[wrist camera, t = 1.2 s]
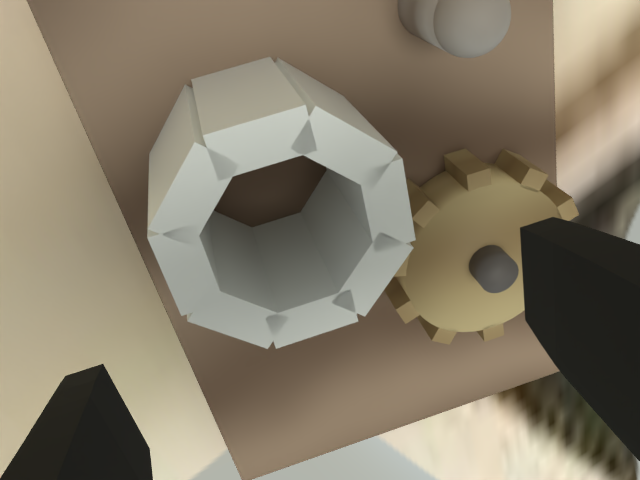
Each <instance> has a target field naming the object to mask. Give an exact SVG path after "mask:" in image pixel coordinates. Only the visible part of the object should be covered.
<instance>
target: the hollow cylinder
mask: <svg viewBox="0 0 640 480" xmlns="http://www.w3.org/2000/svg"><path fill="white" fill-rule="evenodd" d="M191 81H192V86H193V88H191V87H189V86H187V85H184V87H183V89H182V91H181V93H180V95H179V97H178V99H177V101H176V103H175V105H174V107H173V109H172V111H171V113H170V115H169V117H168V118H167V120H166V122H165V124H164V126H163V128H162V130H161V132H160V134H159V136H158V138H157V140H156V142H155V144H154V146H153V148H152V150H151V151H150V153H149V184H148V230H147V238H148V241H149V243H150V245H151V248H152V250H153V252H154V254H155V257H156V259H157V261H158V264H159V266H160V268H161V271H162V273H163V275H164V277H165V280H166V282H167V284H168V287H169V289H170V291H171V294H172V296H173V298H174V300H175V303H176V305H177V307H178V310H179V312H180V314H181V316H183V315H186V314H187V321H188V322H191V323H194V324H197V325H199V326H202V327H205V328H208V329H211V330H214V331H217V332H220V333H223V334H226V335H228V336H231V337H234V338H237V339H240V340H243V341H246V342H249V343H252V344H255V345H258V346H260V347H263V348H266V349H268V348H269V346H270V345H271V343H272V342H274V345H275V347H276V349H277V348H280V347H283V346H286V345H289V344H292V343H295V342H298V341H301V340H304V339H307V338H310V337H313V336H316V335H319V334H322V333H325V332H328V331H331V330H334V329H337V328H340V327H343V326H346V325H349V324H352V323H355V322H358V318H357V314H360V315H362V316H366V315H367V313H368V312H369V310H370V309H371V307H372V306H373V305H374V303H375V302H376V300H377V299H378V298H379V296H380V295H381V293H382V292H383V291H384V289H385V288H386V286H387V285H388V283H389V282H390V281H391V279H392V278H393V276H394V275H395V274H396V272H397V271H398V269H399V268H400V266H401V265H402V264H403V262H404V261H405V259H406V258H407V257H408V255H409V254H410V252H411V251H412V250H413V246H412V245H411V244H410V242H412V241H415V240H416V239H415V232H414V226H413V220H412V214H411V208H410V202H409V196H408V190H407V184H406V178H405V172H404V165H403V159H402V158H401V157H400V156H399V155H398V154H397V151H396V150H395V149H394V148H393V147H392V146H391V145H390V143H389V142H388V141H387V140H386V139H385V138H384V137H383V136H382V135H381V134H380V133H379V132H378V131H377V130H376V129H375V128H374V127H373V126H372V125H371V124H370V123H369V122H368V121H367V120H366V119H365V118H364V117H363V116H362V115H361V114H360V113H359V112H358V111H357V110H356V108H355V107H354V106H353V105H352V104H351V103H350V102H349V101H348V100H347V99H346V98H345V97H344V96H343V95H341V94H339V93H337V92H336V91H334V90H332V89H331V88H329V87H327V86H325V85H324V84H322V83H320V82H319V81H317V80H315V79H313V78H312V77H310V76H308V75H307V74H305V73H303V72H302V71H300V70H298V69H296V68H295V67H293V66H291V65H290V64H288V63H286V62H284V61H283V60H281V59H279V58H277V60H276V62H275V63H274V61H273V60H272V59H271V57H267V58H263V59H260V60H257V61H253V62H250V63H246V64H243V65H239V66H236V67H232V68H229V69H225V70H222V71H218V72H215V73H212V74H208V75H205V76H201V77H198V78H194V79H191ZM301 155H304V156H306V157H308V158H310V159H311V160H313V161H315V162H317V163H319V164H321V165H323V166H325V167H326V172H325V174H324V175H323V177H322V178H321V180H320V182H319V183H318V185H317V186H316V188H315V190H314V191H313V193H312V194H311V196H310V198H309V199H308V201H307V202H306V204H305V206H304V207H303V209H302V210H301V212H300V213H297V214H293V215H290V216H287V217H284V218H281V219H277V220H274V221H271V222H268V223H265V224H262V225H258V226H255V227H250V226H248V225H245V224H243V223H241V222H238V221H236V220H234V219H231V218H229V217H227V216H225V215H222V214H220V213H218V212H215V211H213V210H214V209H215V207H216V205H217V203H218V202H219V200H220V198H221V196H222V195H223V193H224V191H225V189H226V188H227V186H228V184H229V182H230V181H231V179H232V177H233V176H236V175H239V174H242V173H246V172H249V171H252V170H256V169H259V168H262V167H265V166H269V165H272V164H275V163H278V162H282V161H285V160H288V159H292V158H295V157H298V156H301ZM356 313H357V314H356Z"/></svg>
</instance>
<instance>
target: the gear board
mask: <svg viewBox="0 0 640 480" xmlns="http://www.w3.org/2000/svg"><path fill="white" fill-rule="evenodd" d="M27 2H28V4H29V6H30V9H31V11H32V13H33V15H34V18H35V20H36V22H37V24H38V26H39V29H40V31H41V33H42V35H43V38H44V40H45V42H46V44H47V46H48V49H49V51H50V53H51V55H52V58H53V60H54V62H55V64H56V67H57V69H58V71H59V73H60V75H61V78H62V80H63V82H64V84H65V87H66V89H67V91H68V93H69V96H70V98H71V100H72V102H73V104H74V107H75V109H76V111H77V113H78V116H79V118H80V120H81V122H82V124H83V127H84V129H85V131H86V133H87V136H88V138H89V140H90V142H91V145H92V147H93V149H94V151H95V153H96V156H97V158H98V160H99V162H100V165H101V167H102V169H103V171H104V173H105V176H106V178H107V180H108V182H109V185H110V187H111V189H112V191H113V194H114V196H115V198H116V200H117V202H118V205H119V207H120V209H121V211H122V214H123V216H124V218H125V220H126V222H127V225H128V227H129V229H130V231H131V234H132V236H133V238H134V240H135V243H136V245H137V247H138V249H139V251H140V254H141V256H142V258H143V260H144V263H145V265H146V267H147V269H148V271H149V274H150V276H151V278H152V280H153V283H154V285H155V287H156V289H157V292H158V294H159V296H160V298H161V300H162V303H163V305H164V307H165V309H166V312H167V314H168V316H169V318H170V321H171V323H172V325H173V327H174V329H175V332H176V334H177V336H178V338H179V341H180V343H181V345H182V347H183V349H184V352H185V354H186V356H187V358H188V361H189V363H190V365H191V367H192V370H193V372H194V374H195V376H196V378H197V381H198V383H199V385H200V387H201V390H202V392H203V394H204V396H205V398H206V401H207V403H208V405H209V407H210V410H211V412H212V414H213V416H214V419H215V421H216V423H217V425H218V427H219V430H220V432H221V434H222V436H223V439H224V441H225V443H226V445H227V447H228V450H229V452H230V454H231V456H232V459H233V461H234V463H235V465H236V468H237V470H238V472H239V474H240V476H241V479H242V480H252V479H254V478H257V477H260V476H263V475H266V474H269V473H271V472H274V471H277V470H280V469H282V468H285V467H289V466H291V465H294V464H297V463H300V462H303V461H305V460H308V459H311V458H314V457H317V456H320V455H323V454H325V453H328V452H331V451H334V450H337V449H339V448H342V447H345V446H348V445H351V444H354V443H357V442H360V441H362V440H365V439H368V438H371V437H374V436H377V435H379V434H382V433H385V432H388V431H391V430H394V429H396V428H399V427H402V426H405V425H408V424H411V423H414V422H416V421H419V420H422V419H425V418H428V417H431V416H433V415H436V414H439V413H442V412H445V411H448V410H450V409H453V408H456V407H459V406H462V405H465V404H467V403H470V402H473V401H476V400H479V399H482V398H485V397H487V396H490V395H493V394H496V393H499V392H502V391H504V390H507V389H510V388H513V387H516V386H519V385H521V384H524V383H527V382H530V381H533V380H536V379H539V378H541V377H544V376H547V375H550V374H553V373H556V372H558V371H560V370H559V369H558V368H557V367H556V366H555V364H554V363H553V361H552V360H551V358H550V357H549V355H548V354H547V353H546V351H545V350H544V348H543V347H542V345H541V344H540V342H539V341H538V339H537V338H536V336H535V334H534V333H533V331H532V330H531V328H530V327H529V325H528V324H527V322H526V321H525V308H524V290H523V273H522V256H521V239H520V227H523V226H526V225H529V224H532V223H535V222H538V221H541V220H545V219H548V218H551V217H556V218H560V219H563V220H567V221H570V220H571V219H573V218H574V217H576V216H578V215H579V214H578V211H577V209H576V206H575V203H574V201H573V198H572V197H571V196H569V195H568V194H566V193H565V192H563V191H562V190H561V189H559V188H558V187H557V180H556V131H555V82H554V34H553V0H27ZM267 57H271V59H272V60H273V61H274V63H275V62H276V60H277V58H279V59H281V60H283V61H284V62H286V63H288V64H290V65H291V66H293V67H295V68H296V69H298V70H300V71H302V72H303V73H305V74H307V75H308V76H310V77H312V78H313V79H315V80H317V81H319V82H320V83H322V84H324V85H325V86H327V87H329V88H331V89H332V90H334V91H336V92H337V93H339V94H341V95H343V96H344V97H345V98H346V99H347V100H348V101H349V102H350V103H351V104H352V105H353V106H354V107H355V108H356V110H357V111H358V112H359V113H360V114H361V115H362V116H363V117H364V118H365V119H366V120H367V121H368V122H369V123H370V124H371V125H372V126H373V127H374V128H375V129H376V130H377V131H378V132H379V133H380V134H381V135H382V136H383V137H384V138H385V139H386V140H387V141H388V142H389V143H390V145H391V146H392V147H393V148H394V149H395V150H396V151H397V154H398V155H399V156H400V157H401V158H402V159H403V165H404V172H405V178H406V184H407V190H408V196H409V202H410V208H411V214H412V220H413V226H414V232H415V239H416V240H415V241H412V242H410V244H411V245H412V246H413V250H412V251H411V252H410V254H409V255H408V257H407V258H406V259H405V261H404V262H403V264H402V265H401V266H400V268H399V269H398V271H397V272H396V274H395V275H394V276H393V278H392V279H391V281H390V282H389V283H388V285H387V286H386V288H385V289H384V291H383V292H382V293H381V295H380V296H379V298H378V299H377V300H376V302H375V303H374V305H373V306H372V307H371V309H370V310H369V312H368V313H367V315H366V316H362V315H360V314H357V313H356V314H357V318H358V322H355V323H352V324H349V325H346V326H343V327H340V328H337V329H334V330H331V331H328V332H325V333H322V334H319V335H316V336H313V337H310V338H307V339H304V340H301V341H298V342H295V343H292V344H289V345H286V346H283V347H280V348H277V349H276V347H275V345H274V342H272V343H271V345H270V346H269V348H268V349H266V348H263V347H260V346H258V345H255V344H252V343H249V342H246V341H243V340H240V339H237V338H234V337H231V336H228V335H226V334H223V333H220V332H217V331H214V330H211V329H208V328H205V327H202V326H199V325H197V324H194V323H191V322H188V321H187V314H186V315H183V316H181V314H180V312H179V310H178V307H177V305H176V303H175V300H174V298H173V296H172V294H171V291H170V289H169V287H168V284H167V282H166V280H165V277H164V275H163V273H162V271H161V268H160V266H159V264H158V261H157V259H156V257H155V254H154V252H153V250H152V248H151V245H150V243H149V241H148V238H147V230H148V184H149V153H150V151H151V150H152V148H153V146H154V144H155V142H156V140H157V138H158V136H159V134H160V132H161V130H162V128H163V126H164V124H165V122H166V120H167V118H168V117H169V115H170V113H171V111H172V109H173V107H174V105H175V103H176V101H177V99H178V97H179V95H180V93H181V91H182V89H183V87H184V85H187V86H189V87H191V88H193V86H192V81H191V79H194V78H198V77H201V76H205V75H208V74H212V73H215V72H218V71H222V70H225V69H229V68H232V67H236V66H239V65H243V64H246V63H250V62H253V61H257V60H260V59H263V58H267ZM325 172H326V167H325V166H323V165H321V164H319V163H317V162H315V161H313V160H311V159H310V158H308V157H306V156H304V155H301V156H298V157H295V158H292V159H288V160H285V161H282V162H278V163H275V164H272V165H269V166H265V167H262V168H259V169H256V170H252V171H249V172H246V173H242V174H239V175H236V176H233V177H232V179H231V181H230V182H229V184H228V186H227V188H226V189H225V191H224V193H223V195H222V196H221V198H220V200H219V202H218V203H217V205H216V207H215V209H214V210H213V211H215V212H218V213H220V214H222V215H225V216H227V217H229V218H231V219H234V220H236V221H238V222H241V223H243V224H245V225H248V226H250V227H255V226H258V225H262V224H265V223H268V222H271V221H274V220H277V219H281V218H284V217H287V216H290V215H293V214H297V213H300V212H301V210H302V209H303V207H304V206H305V204H306V202H307V201H308V199H309V198H310V196H311V194H312V193H313V191H314V190H315V188H316V186H317V185H318V183H319V182H320V180H321V178H322V177H323V175H324V174H325Z"/></svg>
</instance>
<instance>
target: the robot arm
mask: <svg viewBox="0 0 640 480" xmlns="http://www.w3.org/2000/svg"><path fill="white" fill-rule="evenodd" d="M520 239H521V256H522V273H523V290H524V308H525V321H526V322H527V324H528V325H529V327H530V328H531V330H532V331H533V333H534V334H535V336H536V338H537V339H538V341H539V342H540V344H541V345H542V347H543V348H544V350H545V351H546V353H547V354H548V355H549V357H550V358H551V360H552V361H553V363H554V364H555V366H556V367H557V368H558V369H559V370H560V372H561V373H562V374H563V375H564V376H565V378H566V379H567V380H568V381H569V382H570V383H571V384H572V386H573V387H574V388H575V389H576V390H577V391H578V392H579V394H580V395H581V396H582V397H583V398H584V399H585V400H586V402H587V403H588V404H589V405H590V406H591V407H592V408H593V409H594V411H595V412H596V413H597V414H598V415H599V416H600V417H601V418H602V420H603V421H604V422H605V423H606V424H607V425H608V426H609V427H610V429H611V430H612V431H613V432H614V433H615V434H616V435H617V437H618V438H619V439H620V440H621V441H622V442H623V443H624V444H625V446H626V447H627V448H628V449H629V450H630V451H631V452H632V453H633V455H634V456H635V457H636V458H637V459H638V460H639V461H640V245H639V244H636V243H633V242H630V241H628V240H625V239H622V238H619V237H616V236H613V235H610V234H607V233H604V232H601V231H598V230H595V229H592V228H589V227H586V226H583V225H580V224H577V223H574V222H570V221H567V220H563V219H560V218H556V217H551V218H548V219H545V220H541V221H538V222H535V223H532V224H529V225H526V226H523V227H520ZM0 480H153V476H152V467H151V458H150V448H149V447H148V445H147V443H146V441H145V439H144V438H143V436H142V434H141V432H140V430H139V428H138V427H137V425H136V423H135V421H134V419H133V418H132V416H131V414H130V412H129V410H128V408H127V407H126V405H125V403H124V401H123V399H122V398H121V396H120V394H119V392H118V390H117V388H116V387H115V385H114V383H113V381H112V379H111V378H110V376H109V374H108V372H107V370H106V368H105V367H104V365H103V364H101V365H98V366H95V367H92V368H89V369H86V370H83V371H79V372H76V373H73V374H70V375H67V376H65V377H64V379H63V380H62V382H61V383H60V385H59V386H58V388H57V389H56V391H55V393H54V394H53V396H52V397H51V399H50V400H49V402H48V404H47V405H46V407H45V408H44V410H43V412H42V413H41V415H40V417H39V418H38V420H37V421H36V423H35V425H34V426H33V428H32V429H31V431H30V433H29V434H28V436H27V437H26V439H25V441H24V442H23V444H22V445H21V447H20V448H19V450H18V452H17V453H16V455H15V456H14V458H13V459H12V461H11V463H10V464H9V466H8V467H7V469H6V470H5V472H4V473H3V475H2V477H1V478H0Z"/></svg>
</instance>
